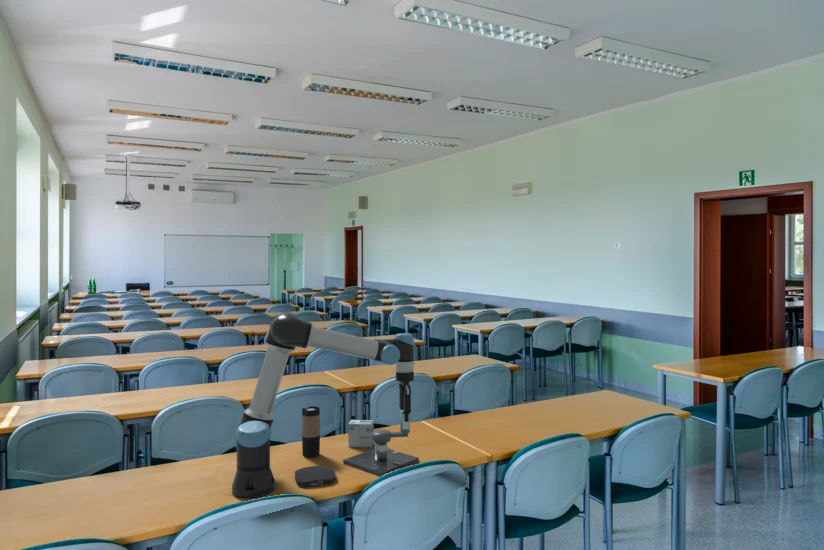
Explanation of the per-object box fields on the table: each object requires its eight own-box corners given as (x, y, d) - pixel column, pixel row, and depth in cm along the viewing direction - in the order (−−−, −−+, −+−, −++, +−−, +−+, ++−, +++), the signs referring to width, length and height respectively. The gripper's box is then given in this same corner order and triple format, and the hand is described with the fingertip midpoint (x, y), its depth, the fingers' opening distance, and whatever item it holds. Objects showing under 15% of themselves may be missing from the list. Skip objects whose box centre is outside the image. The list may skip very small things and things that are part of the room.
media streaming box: (331, 470, 222) (330, 463, 222) (337, 484, 208) (337, 476, 208) (293, 475, 217) (293, 467, 217) (297, 489, 204) (297, 481, 203)
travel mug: (318, 458, 235) (318, 410, 235) (300, 458, 235) (300, 410, 235) (321, 452, 243) (321, 406, 242) (304, 451, 243) (303, 406, 243)
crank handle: (411, 441, 228) (411, 413, 228) (372, 443, 225) (372, 414, 225) (408, 435, 236) (408, 408, 235) (370, 437, 233) (370, 409, 233)
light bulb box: (374, 443, 255) (374, 419, 255) (371, 448, 248) (371, 423, 248) (351, 442, 256) (351, 419, 256) (348, 447, 249) (347, 423, 249)
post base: (382, 476, 215) (381, 453, 214) (343, 463, 229) (343, 441, 229) (418, 461, 231) (418, 439, 231) (380, 449, 246) (380, 429, 245)
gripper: (418, 374, 223) (418, 432, 224) (409, 367, 240) (409, 421, 240) (399, 375, 222) (400, 434, 222) (392, 367, 239) (392, 422, 239)
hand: (404, 427), depth 231 cm, fingers closed on crank handle, 4 cm apart
